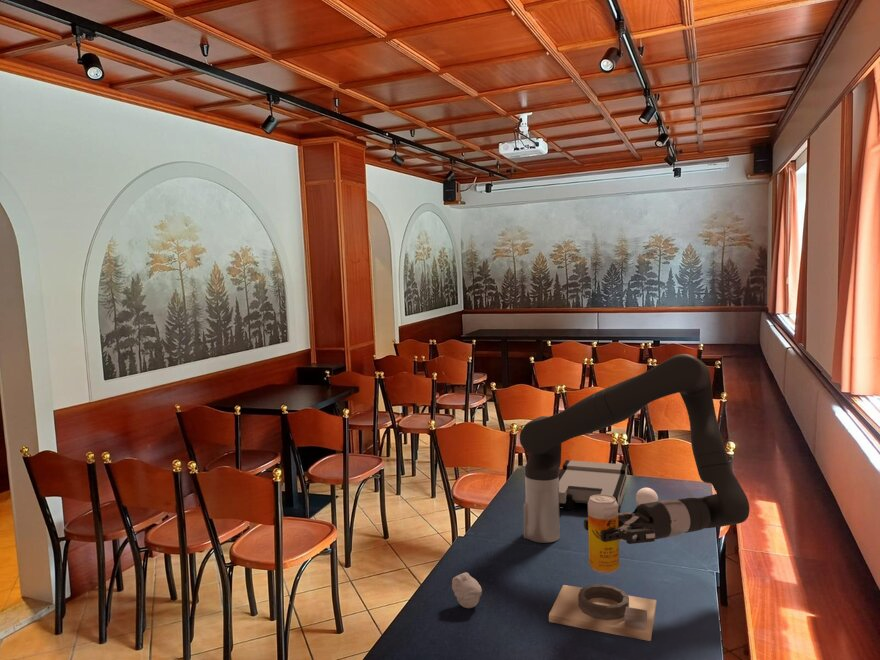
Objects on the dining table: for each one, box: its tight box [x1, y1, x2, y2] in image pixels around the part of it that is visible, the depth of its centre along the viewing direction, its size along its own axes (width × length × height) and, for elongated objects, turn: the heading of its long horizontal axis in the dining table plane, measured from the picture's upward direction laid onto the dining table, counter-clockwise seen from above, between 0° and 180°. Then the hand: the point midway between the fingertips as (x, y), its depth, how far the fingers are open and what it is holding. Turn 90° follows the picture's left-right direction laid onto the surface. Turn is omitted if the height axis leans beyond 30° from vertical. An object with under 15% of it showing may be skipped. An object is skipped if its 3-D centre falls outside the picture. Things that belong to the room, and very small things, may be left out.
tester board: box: [548, 583, 657, 642], centre depth 131 cm, size 20×14×4 cm
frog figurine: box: [451, 571, 483, 609], centre depth 135 cm, size 6×7×7 cm
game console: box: [559, 459, 628, 510], centre depth 202 cm, size 21×32×8 cm, turn 159°
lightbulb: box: [635, 487, 659, 506], centre depth 178 cm, size 6×6×11 cm
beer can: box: [587, 494, 620, 575], centre depth 130 cm, size 6×6×15 cm
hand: (593, 530), depth 129 cm, fingers closed on beer can, 6 cm apart
